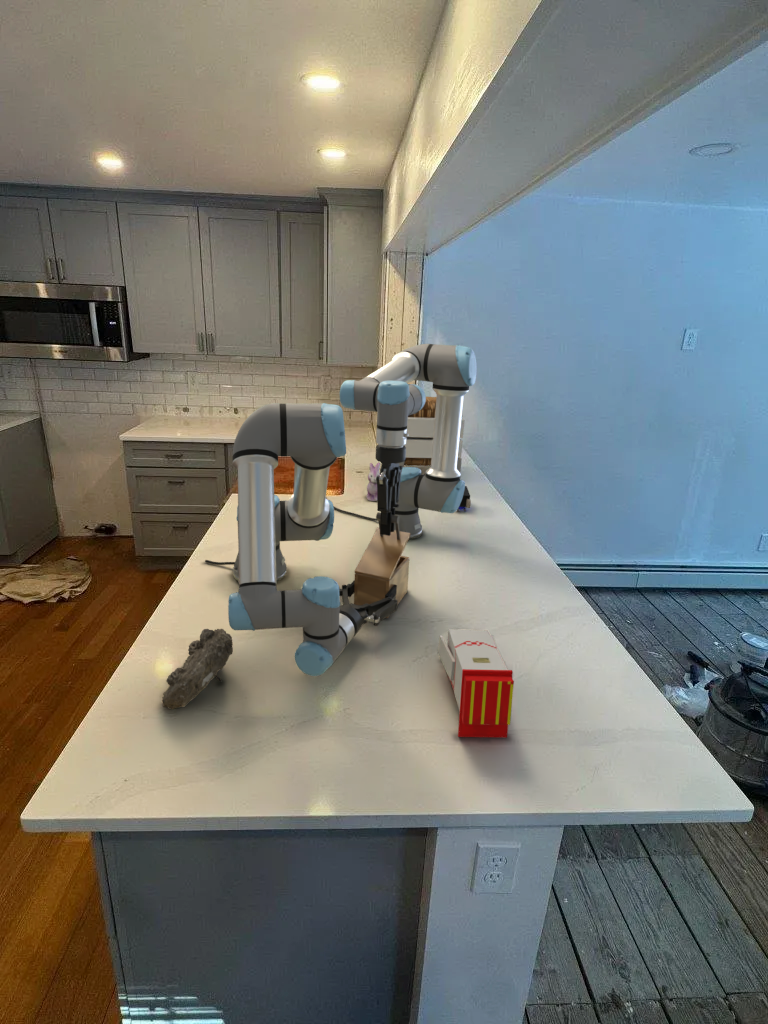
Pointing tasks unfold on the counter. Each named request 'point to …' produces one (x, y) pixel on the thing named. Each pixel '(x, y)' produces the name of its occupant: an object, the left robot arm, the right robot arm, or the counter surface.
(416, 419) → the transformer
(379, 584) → the chest
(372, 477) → the figurine
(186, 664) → the fossil
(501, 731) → the toy
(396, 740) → the counter surface
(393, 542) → the lid
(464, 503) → the figurine character
